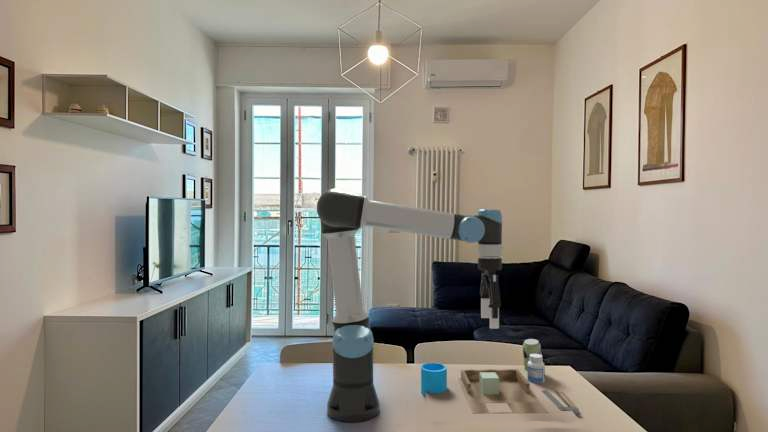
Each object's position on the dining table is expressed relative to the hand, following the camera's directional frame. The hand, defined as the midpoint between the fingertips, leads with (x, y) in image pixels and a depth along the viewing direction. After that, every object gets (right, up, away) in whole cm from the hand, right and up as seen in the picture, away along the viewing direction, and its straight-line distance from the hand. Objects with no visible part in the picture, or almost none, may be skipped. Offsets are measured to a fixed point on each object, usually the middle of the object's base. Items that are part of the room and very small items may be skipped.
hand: (489, 322), depth 152 cm
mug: (-18, -22, 0) cm, 28 cm away
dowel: (+21, -22, -11) cm, 32 cm away
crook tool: (+18, -22, -12) cm, 31 cm away
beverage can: (+18, -21, +14) cm, 31 cm away
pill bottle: (+16, -21, +4) cm, 27 cm away
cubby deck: (+1, -21, -7) cm, 23 cm away
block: (-1, -20, -6) cm, 21 cm away
